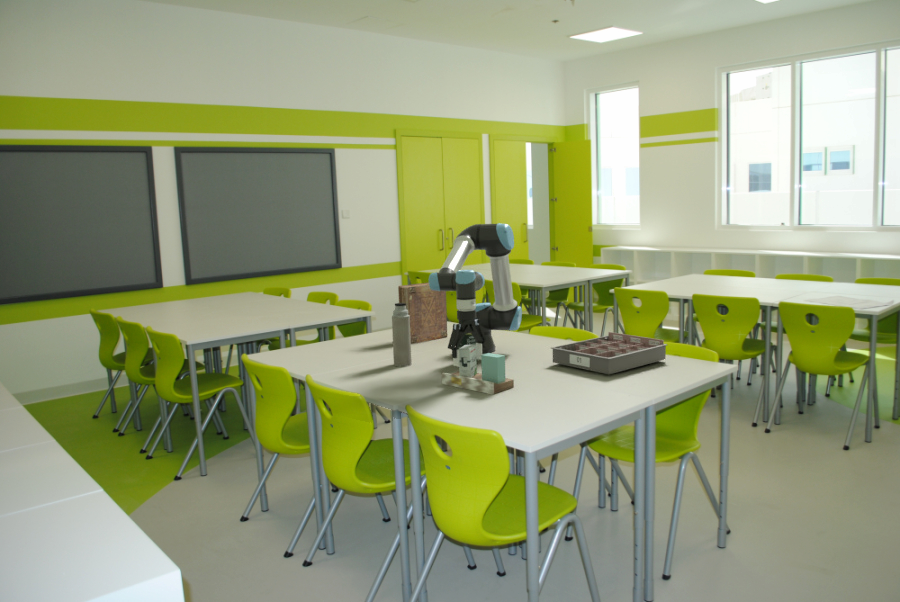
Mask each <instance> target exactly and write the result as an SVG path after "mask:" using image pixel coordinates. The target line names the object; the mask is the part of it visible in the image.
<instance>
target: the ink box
mask: <svg viewBox="0 0 900 602" xmlns="http://www.w3.org/2000/svg"><path fill="white" fill-rule="evenodd" d="M458 350H459V360H460V366H459V368H458V369H459V370H458V372H459V376H463V377H468V378H472V377H473V376H474V375H475V374H477V373H478V370H477V369H478V368H477V367H478V366H477V363H476V345H464V346H463V347H461V348H460V349H458Z"/></svg>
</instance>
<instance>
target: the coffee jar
mask: <svg viewBox="0 0 900 602" xmlns="http://www.w3.org/2000/svg"><path fill="white" fill-rule="evenodd" d="M464 345H476V340H475V338H474V337H473V335H472V334H471V333H468V334H466V335H465V336H464V337H463V339H462V341H461V343H460V345H459V347H458V349H460V348H461V347H463V346H464ZM458 349H457V350H458ZM478 362H479V359H476V364H477V363H478Z"/></svg>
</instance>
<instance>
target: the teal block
mask: <svg viewBox="0 0 900 602" xmlns="http://www.w3.org/2000/svg"><path fill="white" fill-rule="evenodd" d="M480 362H481V363H480V364H481V365H480V366H481V374H482V380H484V381H489V382H494V383H497V384H498V383H502V382H505V378H506V355H505V354H504V355H503V354H498V353H493V352H490V353H482V355H481V360H480Z"/></svg>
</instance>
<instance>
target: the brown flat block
mask: <svg viewBox="0 0 900 602" xmlns="http://www.w3.org/2000/svg"><path fill="white" fill-rule="evenodd" d="M514 381H515V380H514V379H513V378H512V379H511V378H507V377H505V382H502V383H498V384H497V383H494V382H489V381H484V380H482V372H481V373H480V372H477V374H475V375H474V376H473V377H472V378H468V377H463V376H459V371H455V372H453V373H448V372H442V373H441V383H442V385H446V386H450V387H456V388H461V389H467V390H469V391H475V392H480V393H484V394H488V395H495V394H498V393H500V392H504V391H508V390H510V389H513V388H514V387H515V385H514Z"/></svg>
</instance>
